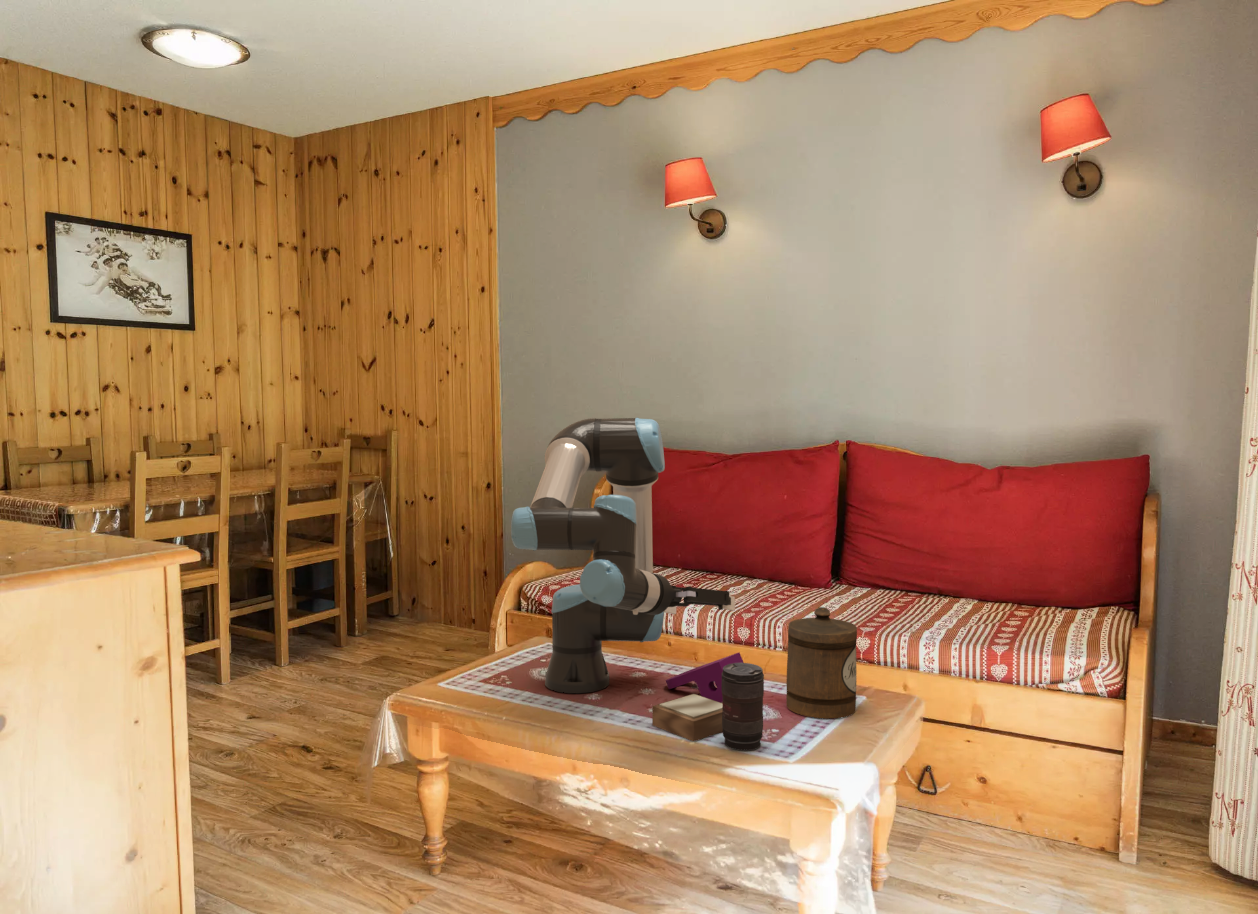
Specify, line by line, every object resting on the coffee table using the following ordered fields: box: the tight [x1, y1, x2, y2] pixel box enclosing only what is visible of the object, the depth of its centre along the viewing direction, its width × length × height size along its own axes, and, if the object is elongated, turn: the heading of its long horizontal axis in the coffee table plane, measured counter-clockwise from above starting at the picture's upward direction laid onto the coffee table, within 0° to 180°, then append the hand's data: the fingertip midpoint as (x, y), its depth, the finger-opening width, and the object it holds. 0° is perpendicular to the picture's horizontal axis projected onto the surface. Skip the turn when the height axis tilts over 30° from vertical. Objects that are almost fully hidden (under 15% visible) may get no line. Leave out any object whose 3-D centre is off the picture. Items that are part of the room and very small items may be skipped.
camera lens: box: [722, 662, 765, 751], centre depth 169 cm, size 8×8×15 cm
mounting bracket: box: [665, 652, 745, 703], centre depth 201 cm, size 9×8×18 cm
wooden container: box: [785, 606, 858, 720], centre depth 191 cm, size 15×15×22 cm
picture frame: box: [651, 693, 723, 742], centre depth 180 cm, size 12×12×4 cm
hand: (703, 605), depth 177 cm, fingers open, 13 cm apart
